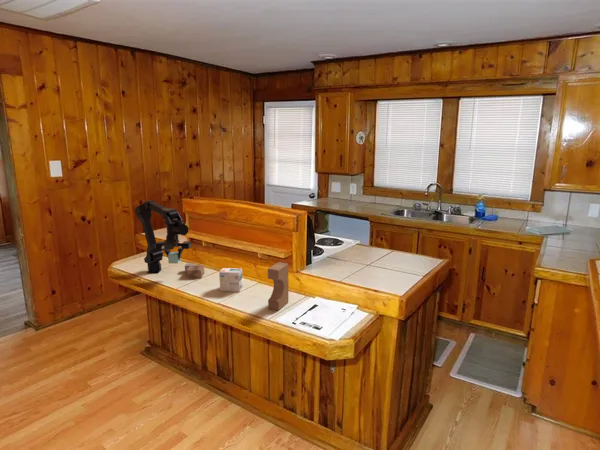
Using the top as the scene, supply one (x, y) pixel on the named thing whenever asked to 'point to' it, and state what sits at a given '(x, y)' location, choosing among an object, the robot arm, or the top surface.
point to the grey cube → (188, 266)
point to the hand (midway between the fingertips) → (174, 259)
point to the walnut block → (195, 271)
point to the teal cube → (173, 257)
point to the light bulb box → (231, 279)
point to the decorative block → (278, 285)
